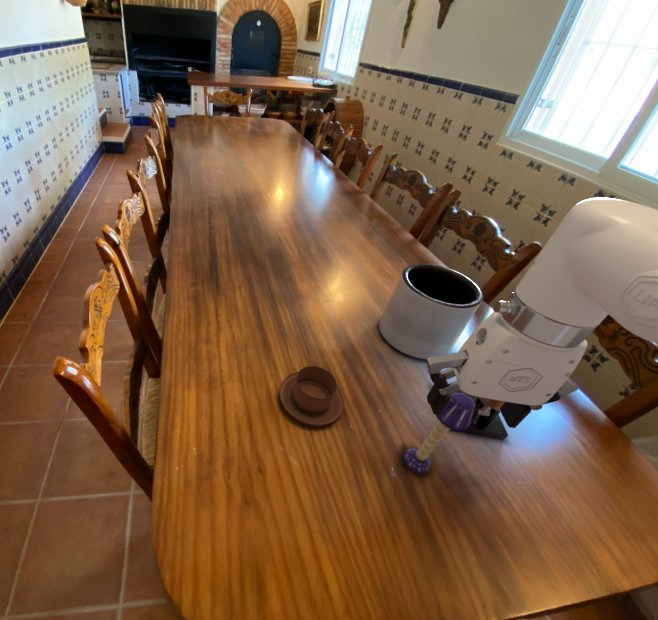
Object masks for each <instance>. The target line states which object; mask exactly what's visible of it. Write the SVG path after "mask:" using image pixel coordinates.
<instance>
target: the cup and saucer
mask: <svg viewBox="0 0 658 620" xmlns="http://www.w3.org/2000/svg"><path fill="white" fill-rule="evenodd" d="M344 398H345V397H344V395H343V393H342V390H341V389H340V387H338V382H337V379H336V378H335V376H334V375H333V374H332V373H331V372H330V371H329V370H327V369H325V368H324V367H320V366H319V363H318V362H316V363H314V365H308V366H305V367H302V368H301V369H300V370H299V371H296V372H292V373H290V374H289V375H287V376H286V377H285V378H284V379H283V380H282V382H281V384H280V386H279V399H280V403H281V405H282V407H283V408H284V410H285V411H286V412H287V413H288V414H289V415H290V416H291V417H292V418H293V419H295V420H297V421H298V422H300V423H303V424H306V425H310V426H316V427H321V426H322V427H323V426H327V425H330V424H332V423H334V422H335V421H337V420H338V419H339V418H340V417H341V416H342V414H343V412H344V409H345V399H344Z"/></svg>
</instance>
